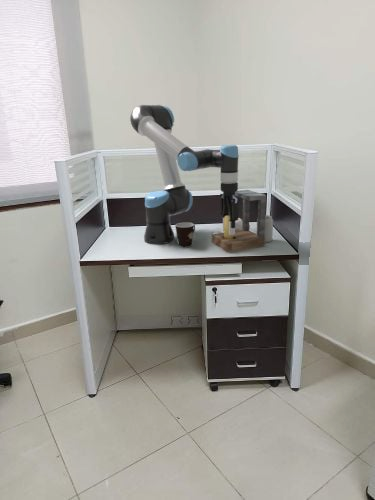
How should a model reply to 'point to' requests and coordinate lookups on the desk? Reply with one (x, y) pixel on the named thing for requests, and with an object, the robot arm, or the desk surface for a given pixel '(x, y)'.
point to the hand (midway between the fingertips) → (228, 232)
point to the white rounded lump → (239, 224)
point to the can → (268, 228)
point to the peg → (227, 228)
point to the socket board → (238, 241)
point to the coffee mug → (185, 233)
